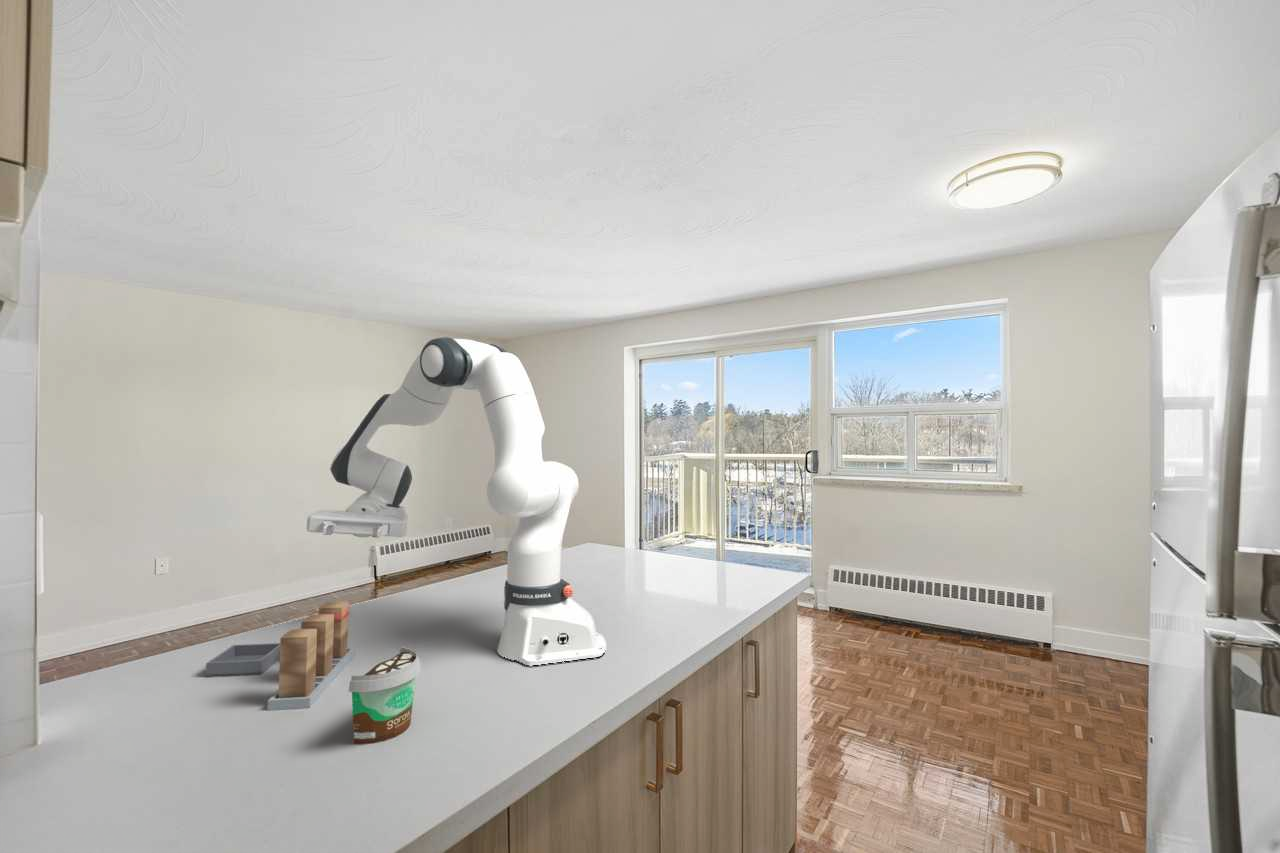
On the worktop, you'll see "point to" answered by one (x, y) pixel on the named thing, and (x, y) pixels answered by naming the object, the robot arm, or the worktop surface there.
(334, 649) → the block
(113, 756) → the worktop surface
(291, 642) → the plain cartridge
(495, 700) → the worktop surface
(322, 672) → the plain cartridge
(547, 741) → the worktop surface
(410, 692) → the food container
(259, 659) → the tray
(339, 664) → the holder
